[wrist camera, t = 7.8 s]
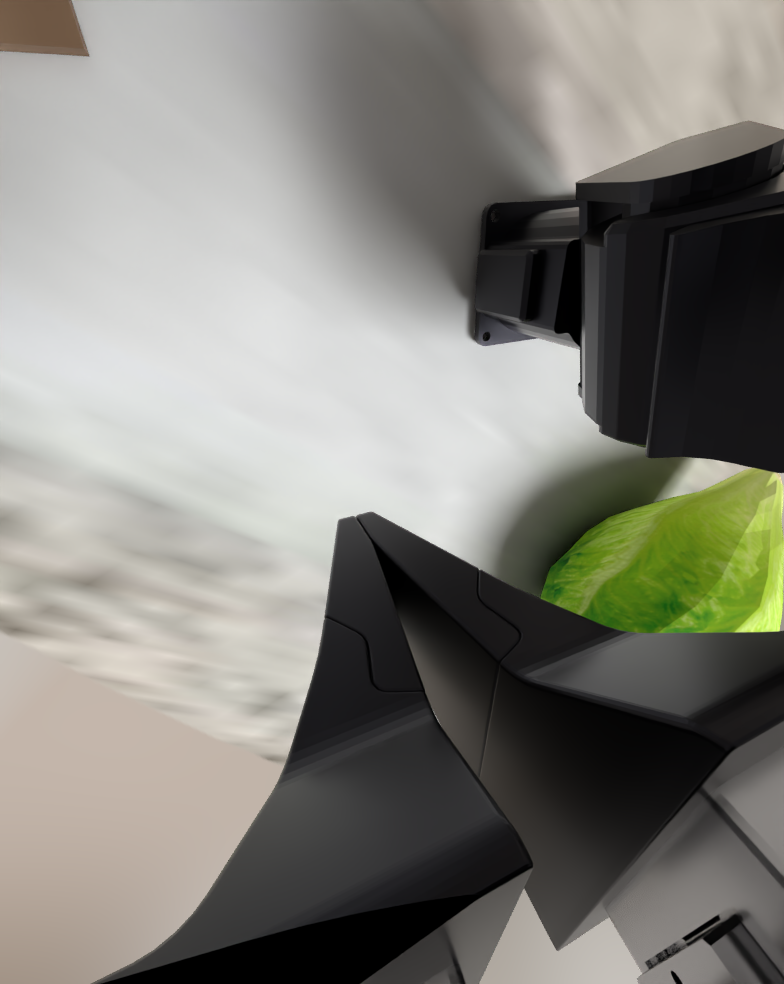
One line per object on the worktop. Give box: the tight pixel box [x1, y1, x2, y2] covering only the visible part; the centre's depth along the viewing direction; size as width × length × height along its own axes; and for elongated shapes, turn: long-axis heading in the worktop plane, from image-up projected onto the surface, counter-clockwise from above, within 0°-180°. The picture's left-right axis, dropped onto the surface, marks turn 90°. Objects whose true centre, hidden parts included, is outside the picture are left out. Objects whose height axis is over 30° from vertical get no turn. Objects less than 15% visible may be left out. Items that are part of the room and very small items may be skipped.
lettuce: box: [540, 468, 784, 633], centre depth 32 cm, size 15×22×15 cm
